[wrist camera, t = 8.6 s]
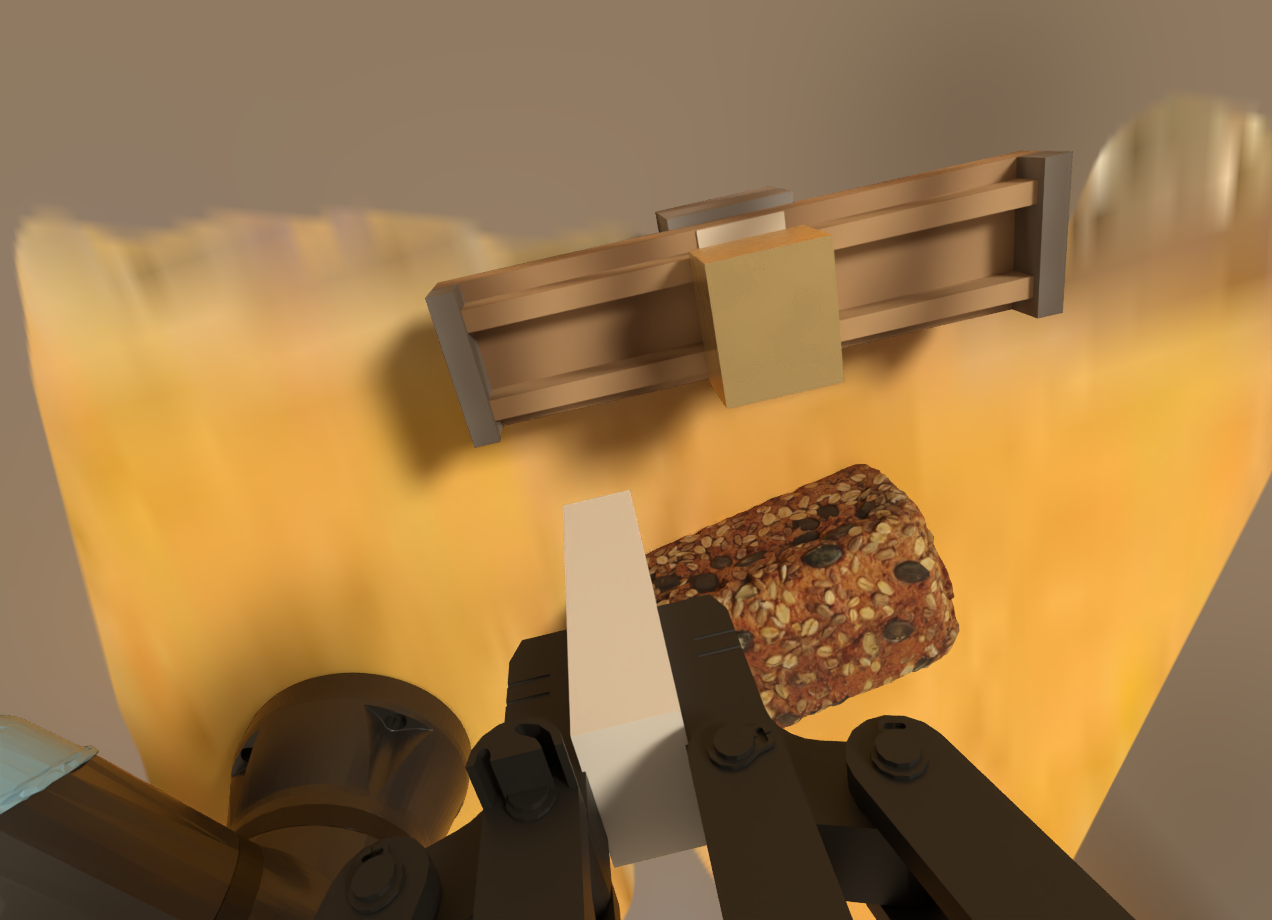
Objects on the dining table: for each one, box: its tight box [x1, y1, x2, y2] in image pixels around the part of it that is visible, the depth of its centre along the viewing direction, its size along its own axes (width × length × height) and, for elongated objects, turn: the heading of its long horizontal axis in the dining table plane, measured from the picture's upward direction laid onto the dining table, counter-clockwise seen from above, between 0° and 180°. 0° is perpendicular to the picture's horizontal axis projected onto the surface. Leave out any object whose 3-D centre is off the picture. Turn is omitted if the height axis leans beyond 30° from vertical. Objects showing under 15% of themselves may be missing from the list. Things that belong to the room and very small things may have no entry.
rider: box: [688, 225, 844, 409], centre depth 30 cm, size 5×6×5 cm
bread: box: [645, 464, 959, 728], centre depth 41 cm, size 19×11×10 cm, turn 112°
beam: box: [425, 151, 1073, 448], centre depth 34 cm, size 28×8×8 cm, turn 101°
